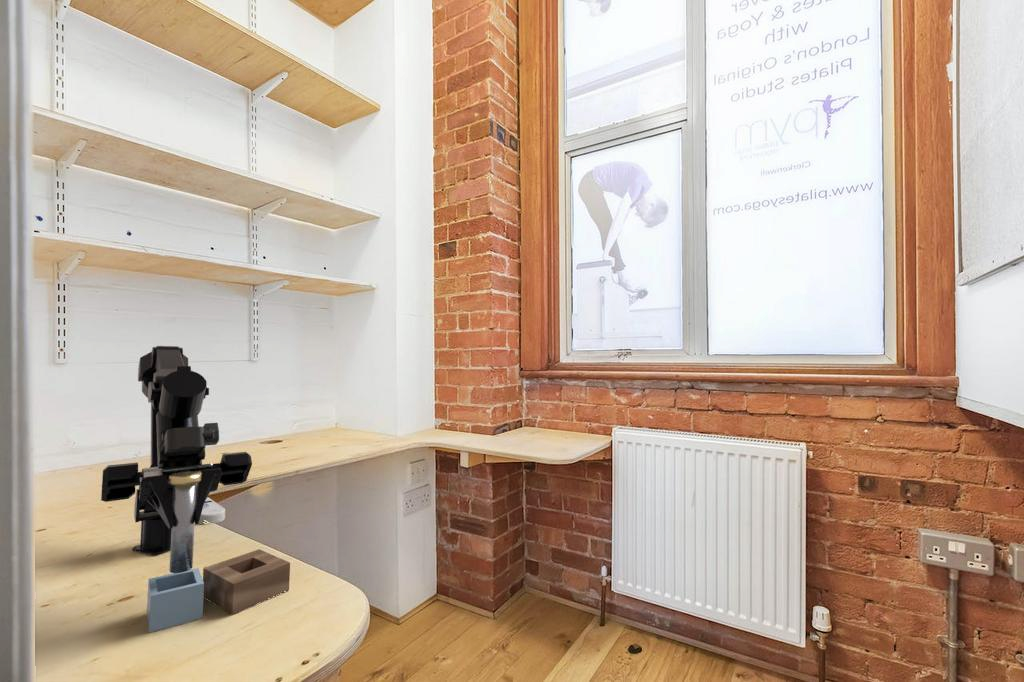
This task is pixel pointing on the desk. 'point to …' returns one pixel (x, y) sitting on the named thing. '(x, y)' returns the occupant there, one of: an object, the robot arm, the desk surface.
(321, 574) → the desk surface
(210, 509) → the electronic device
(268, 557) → the hitch block
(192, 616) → the holder
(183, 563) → the pin
